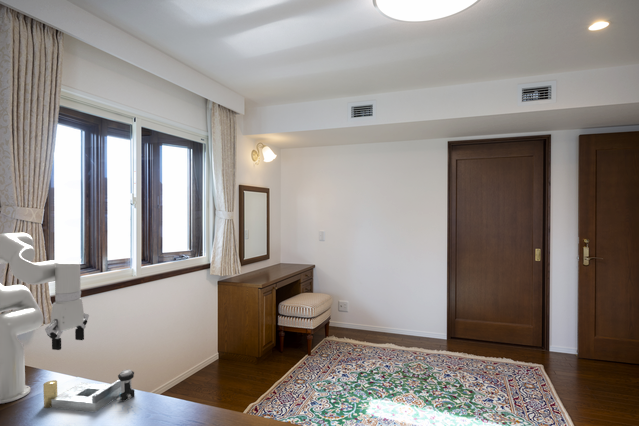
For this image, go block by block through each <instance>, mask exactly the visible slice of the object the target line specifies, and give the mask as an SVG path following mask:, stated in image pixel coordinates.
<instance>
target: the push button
mask: <svg viewBox="0 0 639 426" xmlns="http://www.w3.org/2000/svg"><path fill="white" fill-rule="evenodd" d="M134 377H135V371H133V370H132V369H129V368H128V369H124V370H122V371H120V373H119V374H118V375H117V378H118V380H120V381H121V393H120V394H119V397H117V398H116V400H117V401H116V403H120V402H122V403H124V402H126V401H127V400H131V398H134V397H135V396H136V395H135V394H136V393H135V389H134V388H133V385H132V379H133V378H134Z"/></svg>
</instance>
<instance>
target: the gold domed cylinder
mask: <svg viewBox="0 0 639 426" xmlns="http://www.w3.org/2000/svg"><path fill="white" fill-rule="evenodd" d="M42 387H43V389H42V390H43V407H44V408H45V409H48V408H49V409H50V408H52V399H53V398H55V397H56V396H58V381H57V380H49V381H46V382H44V383H43V385H42Z"/></svg>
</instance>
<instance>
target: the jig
mask: <svg viewBox="0 0 639 426" xmlns="http://www.w3.org/2000/svg"><path fill="white" fill-rule="evenodd" d="M120 393H121V381H120V380H119V379H117V380H116V381H114V382H112V383H111V384H104V383H103V384H102V383H101V384H100V383H90V382H81V383H79V384H77V385H74V386H73V387H71V388H69V389H68V390H67V389H66V391H64V392H62V393H60V394H57V396H56V397H55V398H53V399H52V407H51V408H52V409H53V408H54V409H63V410H73V411H80V412H82V411H83V412H92V413H97V412H98V411H99V410H101V409H103V408H104V407H106V405H108V404H110V403H111V402H113V401H114V400H115V398H116V399H118V398H119V394H120ZM112 400H113V401H112Z"/></svg>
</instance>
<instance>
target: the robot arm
mask: <svg viewBox="0 0 639 426" xmlns="http://www.w3.org/2000/svg"><path fill="white" fill-rule="evenodd" d="M34 245H35V243H34V239H33V237H32V236H31V235H30V234H28V233H25V232H6V233H0V265H5V264H9V268H10V272H11V274H12V275H13V276H14V278H16V279H17V280H19V281H21V282H22V283H25V284H27V285H42V284H45V283H46V284H47V283H50V282H51V283H52V282H54V290H55V291H54V292H55V293H54V294H55V295H54V298H55V299H54V300H55V301H54V302H53V303H52V306H51V312H50V324H49V325H47V326H46V327H45V328H44V331H45V333H46V334H47V337H49V338H50V339H51V350H54V351H60V350H62V338H61V336H62V334H63V332H66V331H68V330H71V329H73V328H74V329H75V330H74V332H75V333H74V335H75V340H76V341H83V340H85V329H86V326H87V323H88V320H89V317H90V315H89V313H88V314H87V313H84V304H83V299H82V298H81V295H82V290H81V264H80V262H78V261H67V260H63V259H54V260H46V261H39V262H32V261H34V259H35V258H36V257H35V256H36V250H35V249H34ZM43 323H44V314H43V312H42V310H41V308H40V306H39V304H38V302H37V300H36V299H35V298H34V295H33V293H32V291H31V290H30V289H29V288H28V287H27V286H25V285H22V284H12V285H11V284H10V285H6V286H5V285H3V284H2V282H1V281H0V404H5V403H10V402H14V401H16V400H19V399H21V398H24V397H25V396H27V395H28V394H29V393H30V392H31V387H30V386H29V385H26V372H25V371H26V368H25V347H24V343H23V342H22V341H21V340H20V339H19V338H18V336H19V335H22V334H26V333H30V332H32V331H35V330H38V329H39V328H40V327H41V326H42V325H43Z"/></svg>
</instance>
